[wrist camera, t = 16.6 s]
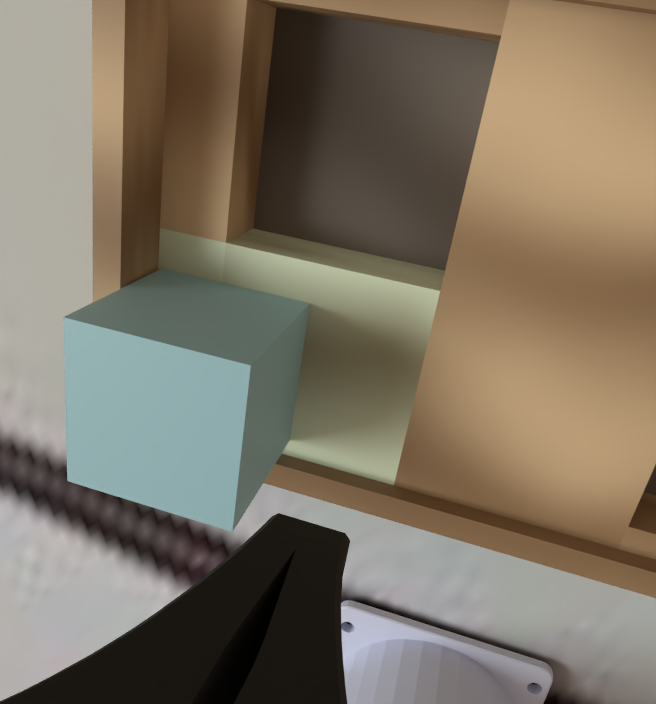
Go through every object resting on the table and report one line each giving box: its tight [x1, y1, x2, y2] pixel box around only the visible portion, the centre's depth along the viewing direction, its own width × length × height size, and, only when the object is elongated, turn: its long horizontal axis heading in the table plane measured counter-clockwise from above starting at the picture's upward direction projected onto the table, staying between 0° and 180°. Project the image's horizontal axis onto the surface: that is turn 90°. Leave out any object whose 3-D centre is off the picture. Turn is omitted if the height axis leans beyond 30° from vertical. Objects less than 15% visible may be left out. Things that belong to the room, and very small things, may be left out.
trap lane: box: [92, 0, 656, 598], centre depth 16 cm, size 15×26×4 cm, turn 81°
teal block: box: [64, 269, 310, 532], centre depth 17 cm, size 4×4×4 cm
